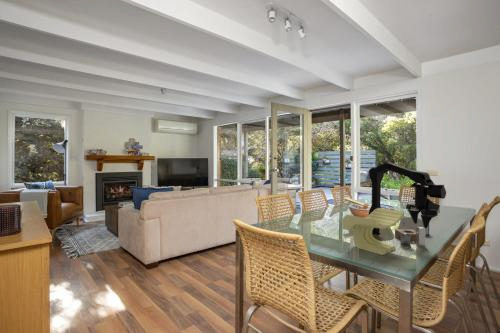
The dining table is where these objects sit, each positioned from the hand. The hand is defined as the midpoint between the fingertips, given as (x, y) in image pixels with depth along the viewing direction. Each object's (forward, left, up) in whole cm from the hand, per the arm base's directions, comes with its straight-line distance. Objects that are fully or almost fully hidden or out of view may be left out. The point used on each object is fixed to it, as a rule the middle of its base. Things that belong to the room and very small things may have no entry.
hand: (420, 225), depth 140 cm
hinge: (+10, +25, -10) cm, 29 cm away
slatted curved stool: (-26, -6, -10) cm, 29 cm away
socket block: (-1, +10, -10) cm, 14 cm away
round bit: (-8, -1, -10) cm, 13 cm away
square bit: (0, 0, -10) cm, 10 cm away
